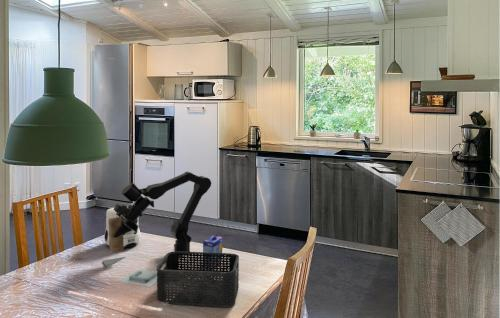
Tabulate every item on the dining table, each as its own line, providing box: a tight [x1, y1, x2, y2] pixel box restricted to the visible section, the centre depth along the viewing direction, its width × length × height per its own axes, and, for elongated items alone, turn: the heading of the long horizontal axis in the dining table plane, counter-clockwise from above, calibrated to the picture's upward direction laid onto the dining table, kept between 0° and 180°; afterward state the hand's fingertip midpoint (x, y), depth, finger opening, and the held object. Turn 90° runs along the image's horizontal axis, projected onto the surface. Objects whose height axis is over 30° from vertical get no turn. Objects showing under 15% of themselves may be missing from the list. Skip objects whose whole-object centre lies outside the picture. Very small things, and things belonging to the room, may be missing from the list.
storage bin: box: [156, 251, 240, 308], centre depth 153 cm, size 29×19×13 cm
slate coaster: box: [102, 256, 126, 269], centre depth 182 cm, size 10×10×1 cm
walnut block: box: [108, 217, 125, 253], centre depth 180 cm, size 5×5×14 cm
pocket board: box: [118, 268, 157, 288], centre depth 166 cm, size 14×14×2 cm
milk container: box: [104, 207, 141, 248], centre depth 206 cm, size 17×17×18 cm
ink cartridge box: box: [202, 233, 224, 265], centre depth 182 cm, size 10×6×14 cm, turn 158°
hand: (113, 235), depth 180 cm, fingers closed on walnut block, 5 cm apart
